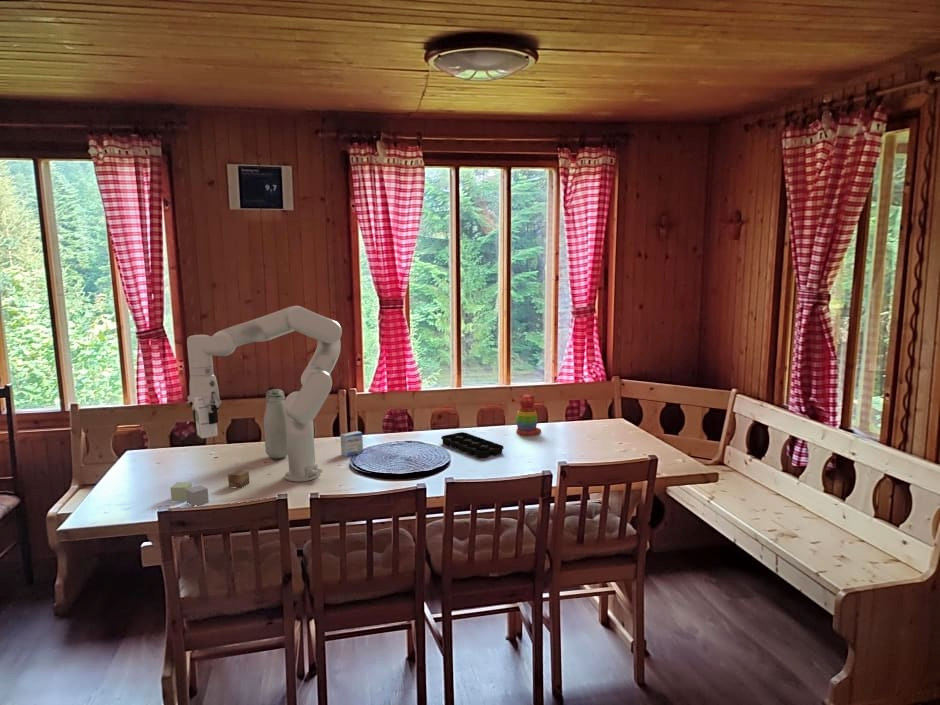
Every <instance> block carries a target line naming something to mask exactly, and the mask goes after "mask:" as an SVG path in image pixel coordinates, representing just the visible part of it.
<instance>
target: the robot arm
mask: <svg viewBox="0 0 940 705" xmlns="http://www.w3.org/2000/svg"><path fill="white" fill-rule="evenodd" d="M295 331H296V332H298V333H300V334H302V335H305V336H307V337H309V338H312V339H315V340H317V342H316V344H317V347H316V348H315V351H314V354H313V355H312V357H311V359H310V360H309V362H308V364H307V366H306V367H305V369H304V370H303V372H302V374H301V377H300V383H301V388H300V389H299V390H298V391H296V390H295V391H293V392H290V393H289V394H288V395H287V397H286V398H285V399H284V402H285V403H284V411H285V419H286V428H287V445H288V455H287V458H288V459H287V460H288V471H287V472H286V473H285V474H284V478H285V480H286V481H290V482H295V483H296V482H300V483H301V482H308V481H311V480H314V479H317V478H319V477H320V476H321V474H322V473H323V469H322V468H318V463H316V454H315V453H316V451H315V436H314V435H315V433H314V432H315V431H314V428H315V427H314V421H313V420H314V419H315V418H316V417H317V415H318V413H319V412H320V411H321V408H322V407H323V405H324V403H325V401H326V400H327V398H328V396H329V394H330V392H331V389H332V387H333V379H332V376H331V373H332V371H333V370H334V368H335V366H336V364H337V361H338V359H339V357H340V354H341V349H342V346H341V344H342V343H341V337H342V334H343V329H342V327H341V325H340V323H339V322H338V321H336V320H334V319H331V318H329V317H326V316H324V315H321V314H318V313H316V312H314V311H312V310H310V309H307V308H305V307H303V306H300V305H293V306H288V307H285V308H283V309H280V310H277V311H275V312H272V313H269V314H266V315H263V316H261V317H257V318H254V319H251V320H248V321H246V322H242V323H239V324H235V325H232V326H230V327H227V328H224V329H221V330H219V331H217V332H214V334H213V335H212V336H211V335H209V334H194V335H190V336H187V340H186V344H187V357H188V367H189V386H188V387H189V395H188V396H187V398H186V399H187V401H188V403H189V405H190V407H191V410H192V415H193V422H195V423H196V418H195V409H194V397H195V396H200V397H202V400H203V404H204V405H207V407H208V409H209V412H210V413H208V415H209V424H215V423H217V424H218V422H219V416H218V412H219V409H220V407H221V404H222V402H223V401H222V400H221V399H220V391H219V385H218V380H217V378H216V374H214V361H213V356H217V357H218V356H219V357H227V356H229V355H230V356H231V355H232V354H233V353H234V352H235V350H236V348H238V347H241V346H243V345H246V344H247V345H248V344H251V343H256V342H258V343H259V342H261V343H262V342H267V341H271V340H273V339H276V338H278V337H281V336H283V335H287V334H290V333H293V332H295ZM212 399H213V400H214V403H210V402H211V401H212ZM212 405H213V408H212V407H211V406H212Z"/></svg>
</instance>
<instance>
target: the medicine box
mask: <svg viewBox="0 0 940 705" xmlns="http://www.w3.org/2000/svg"><path fill="white" fill-rule="evenodd" d="M339 436H340V453H341V454H340V455H342V456H344V457H347V458H348V457H351V456H355V454H356V455H359V454H358V453H360V454H362V453H361V452H363V453H364V445H363V443H364V442H363V439H364V438H363V432H361V431H358V430H356V431H355V430H354V431H351V432H347V433H346V432H345V433H341V434H340V435H339Z"/></svg>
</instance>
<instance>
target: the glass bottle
mask: <svg viewBox="0 0 940 705" xmlns="http://www.w3.org/2000/svg"><path fill="white" fill-rule="evenodd" d="M285 397H286V396H285V391H283V390H282V389H280V388H274V389H270V390H267V391H266V392H265V401H266V402H265V403H266V404H265V405H266V406H265V411H264V415H263V430H264V433H263V434H264V445H265V446H264V448H265V454H266V455H267V456H268V457H269V458H270V459H277V460H278V458H279V459H283V458H285V457H288V445H287V428H286V419H285V411H284V403H285V400H286V398H285Z"/></svg>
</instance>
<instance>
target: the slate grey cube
mask: <svg viewBox="0 0 940 705" xmlns="http://www.w3.org/2000/svg"><path fill="white" fill-rule="evenodd" d="M208 490H209V489H208V488H207V487H205V486H203V485H201V484H199V485H196V486H192V488H189V489H186V499H187V502H186V504H187V503H189V504H191V505H190V506H191V507H193V506H195V505H200V506H203V505H206V504H208V502H209V501H210V500H209V491H208ZM205 503H206V504H205ZM209 503H210V502H209ZM189 504H188V505H189Z"/></svg>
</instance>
